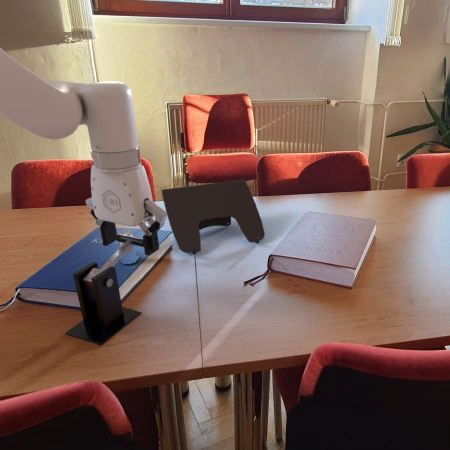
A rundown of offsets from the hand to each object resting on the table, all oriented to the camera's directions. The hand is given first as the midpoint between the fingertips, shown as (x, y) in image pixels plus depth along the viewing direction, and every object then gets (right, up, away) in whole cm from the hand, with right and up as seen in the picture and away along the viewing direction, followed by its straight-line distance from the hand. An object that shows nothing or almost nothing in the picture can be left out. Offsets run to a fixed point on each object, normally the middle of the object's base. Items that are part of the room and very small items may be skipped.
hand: (131, 247), depth 82 cm
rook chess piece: (-7, -5, +18) cm, 20 cm away
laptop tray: (+10, +1, +33) cm, 34 cm away
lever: (-2, -3, -3) cm, 5 cm away
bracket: (-3, -14, -3) cm, 15 cm away
